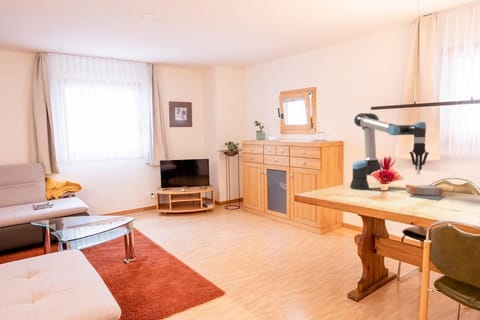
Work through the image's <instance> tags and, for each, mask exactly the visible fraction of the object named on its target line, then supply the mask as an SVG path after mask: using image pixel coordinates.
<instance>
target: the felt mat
mask: <svg viewBox="0 0 480 320" xmlns="http://www.w3.org/2000/svg"><path fill="white" fill-rule="evenodd" d="M408 197H410V198H415V199H424V200H432V201H439V200H442V199H444V198H445V196H442V195H415V194H411V195H409V196H408Z"/></svg>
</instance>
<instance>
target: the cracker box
mask: <svg viewBox="0 0 480 320" xmlns="http://www.w3.org/2000/svg"><path fill="white" fill-rule="evenodd" d="M405 192H406V193H409V194H411V195H413V194H415V195H436V196H442V195H443V188H442V187H439V186H436V185H432V184H424V185H423V184H405Z"/></svg>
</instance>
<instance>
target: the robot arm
mask: <svg viewBox="0 0 480 320" xmlns="http://www.w3.org/2000/svg"><path fill="white" fill-rule="evenodd" d="M354 124H355V126H357V127H360V128H361V130H363V133H364V150H365V151H364V154H365V158H364V159H363V160H357V161H354V162H353V163H352V179H351V182H350V185H349V186H350V187H349V188H350V189H352V190H361V191H362V190H363V191H364V190H365V191H366V190H369V189H370V185H369V182H368V176H372V175H371V173H372V172H374V171H377V170H381V171H382V164H381V162H379V159H378V158H377V149H376V148H377V147H376V133H375V132H376V131H379V132H383V133H386V134H389V136H413V149H412V151H409V154H410V157H411V162H412V165H414V166H415V171H416V175H421V171H422V167H423V166H425V164H426V160H427V158H428V155H429V154H430V152H427V151H426V133H427V132H426V131H427V124H426V121H425V122H424V121H416V122H414V124H407V125H406V124H394V123H391V122H388V121H387V122H386V121H381V120H380V119H379V116H378V115H377V114H375V113H371V112H369V113H367V112H365V113H362V112H361V113H358V114H357V115H355V116H354ZM423 155H424V156H423ZM380 164H381V165H380Z"/></svg>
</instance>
